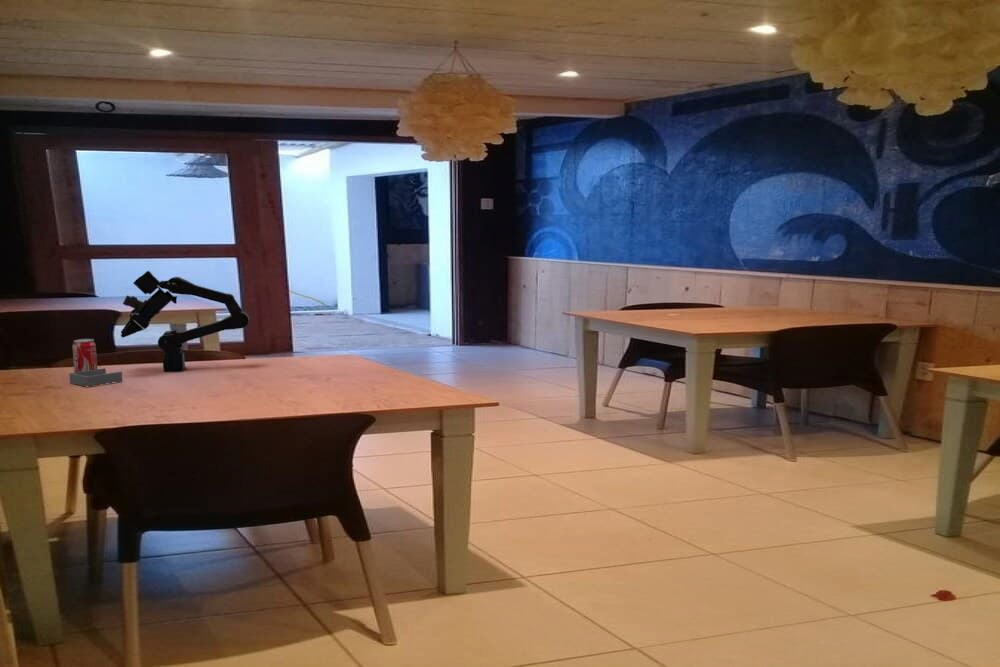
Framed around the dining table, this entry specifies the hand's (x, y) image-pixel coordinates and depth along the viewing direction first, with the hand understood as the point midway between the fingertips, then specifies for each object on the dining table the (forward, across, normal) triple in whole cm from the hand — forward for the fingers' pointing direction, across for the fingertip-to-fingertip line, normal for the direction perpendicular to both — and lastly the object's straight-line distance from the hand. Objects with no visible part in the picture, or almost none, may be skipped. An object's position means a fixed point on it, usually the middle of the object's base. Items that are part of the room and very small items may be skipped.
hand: (121, 335), depth 271 cm
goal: (+15, +14, +4) cm, 21 cm away
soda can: (+18, +2, +2) cm, 18 cm away
